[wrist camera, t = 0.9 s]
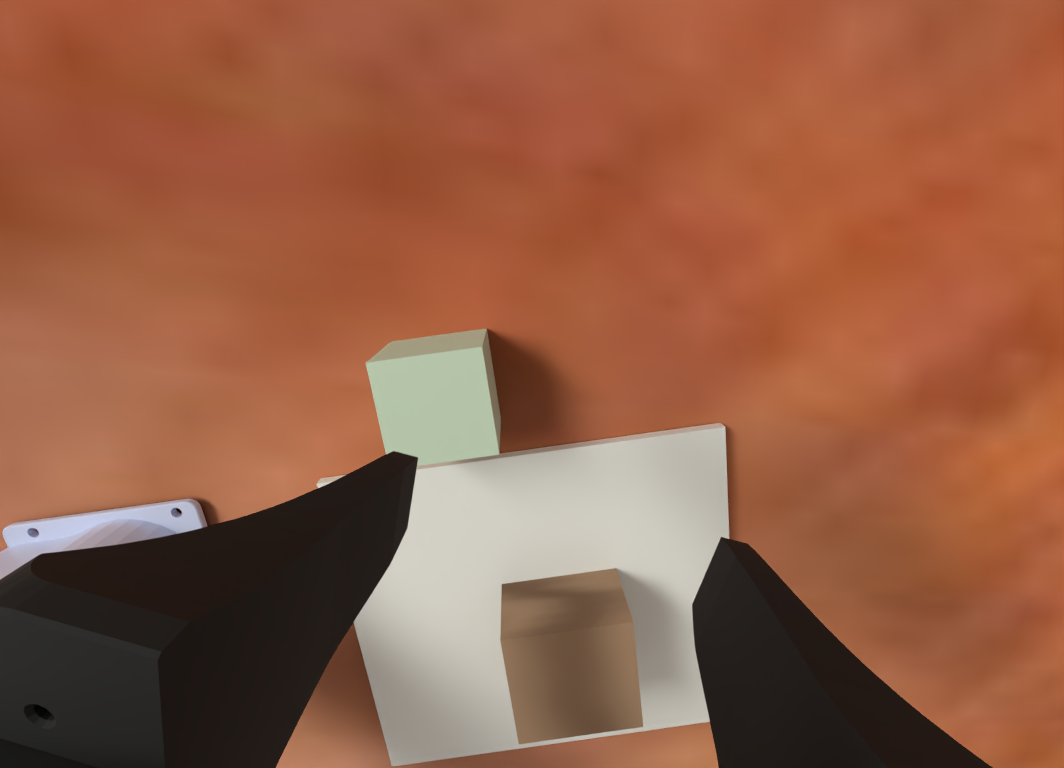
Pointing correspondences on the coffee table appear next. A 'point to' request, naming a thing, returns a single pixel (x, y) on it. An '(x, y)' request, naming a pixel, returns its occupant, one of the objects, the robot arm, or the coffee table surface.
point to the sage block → (437, 397)
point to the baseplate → (534, 553)
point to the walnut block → (570, 656)
